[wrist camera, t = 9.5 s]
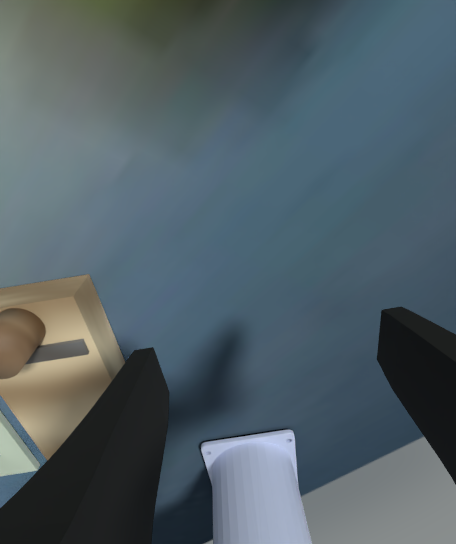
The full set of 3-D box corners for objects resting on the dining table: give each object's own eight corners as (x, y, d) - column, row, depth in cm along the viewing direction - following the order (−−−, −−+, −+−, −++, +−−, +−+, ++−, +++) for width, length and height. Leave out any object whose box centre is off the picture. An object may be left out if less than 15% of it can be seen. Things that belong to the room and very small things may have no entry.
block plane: (150, 423, 25) (138, 490, 21) (66, 436, 25) (36, 506, 21) (89, 274, 19) (52, 325, 14) (-25, 292, 19) (-96, 349, 14)
